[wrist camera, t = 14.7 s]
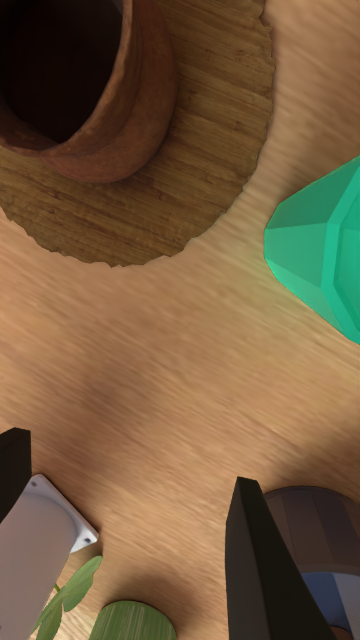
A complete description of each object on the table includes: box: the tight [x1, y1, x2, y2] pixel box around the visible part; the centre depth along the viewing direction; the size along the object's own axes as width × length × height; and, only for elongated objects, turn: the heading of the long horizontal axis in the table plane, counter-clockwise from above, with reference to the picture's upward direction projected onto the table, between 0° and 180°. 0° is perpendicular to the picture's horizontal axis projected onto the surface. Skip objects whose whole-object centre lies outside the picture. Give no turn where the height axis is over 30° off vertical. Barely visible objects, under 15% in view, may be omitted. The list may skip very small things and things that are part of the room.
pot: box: [264, 486, 360, 567], centre depth 20 cm, size 10×10×6 cm
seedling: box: [32, 556, 103, 640], centre depth 26 cm, size 7×8×7 cm
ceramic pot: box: [0, 0, 276, 268], centre depth 12 cm, size 18×18×7 cm
